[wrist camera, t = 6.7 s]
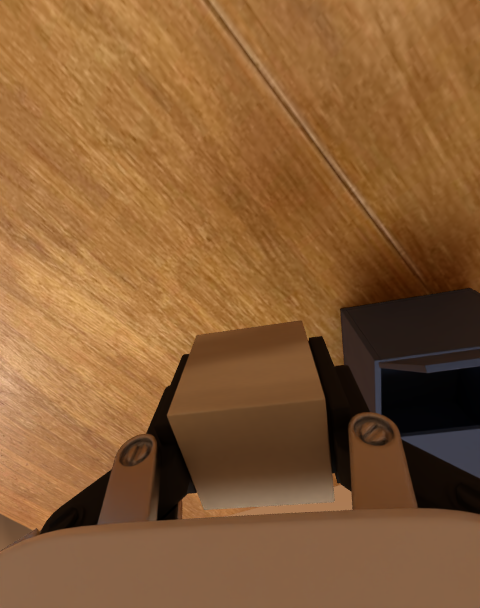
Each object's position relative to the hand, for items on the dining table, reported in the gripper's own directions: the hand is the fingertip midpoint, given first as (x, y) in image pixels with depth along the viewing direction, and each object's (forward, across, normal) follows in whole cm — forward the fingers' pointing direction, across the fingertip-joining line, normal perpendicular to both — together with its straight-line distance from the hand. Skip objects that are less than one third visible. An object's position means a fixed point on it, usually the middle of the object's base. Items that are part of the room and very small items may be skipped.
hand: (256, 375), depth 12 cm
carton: (+18, -14, +14) cm, 28 cm away
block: (0, 0, 0) cm, 0 cm away
